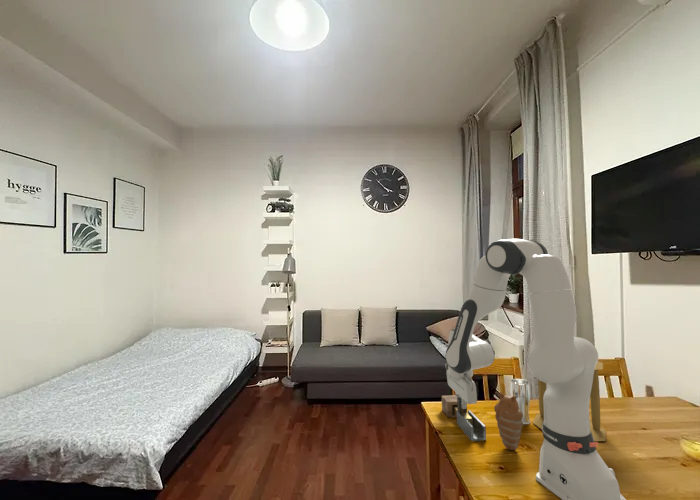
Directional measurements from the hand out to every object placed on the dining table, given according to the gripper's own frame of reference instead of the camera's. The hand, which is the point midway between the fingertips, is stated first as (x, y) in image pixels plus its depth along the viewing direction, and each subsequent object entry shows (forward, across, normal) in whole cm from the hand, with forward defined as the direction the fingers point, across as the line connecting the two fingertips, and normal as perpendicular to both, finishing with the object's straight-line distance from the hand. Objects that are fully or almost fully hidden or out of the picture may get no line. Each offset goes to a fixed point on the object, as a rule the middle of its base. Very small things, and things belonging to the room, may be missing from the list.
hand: (461, 406), depth 132 cm
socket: (+6, +8, 0) cm, 10 cm away
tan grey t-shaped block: (+5, +1, 0) cm, 5 cm away
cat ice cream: (+6, -20, -8) cm, 22 cm away
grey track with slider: (+6, -8, 0) cm, 10 cm away
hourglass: (+6, -8, -37) cm, 38 cm away
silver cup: (+6, -1, -23) cm, 24 cm away
